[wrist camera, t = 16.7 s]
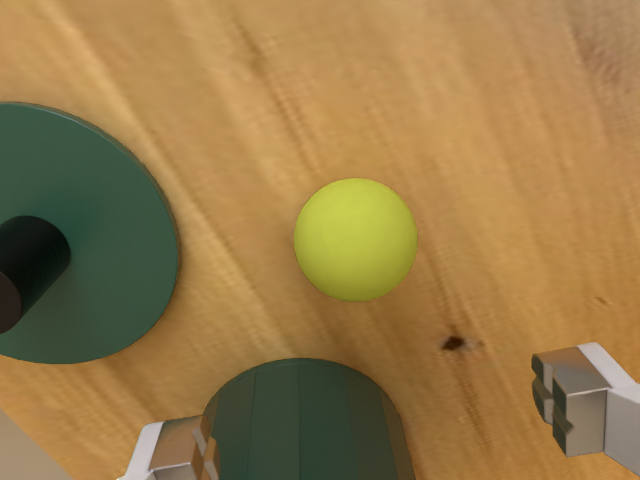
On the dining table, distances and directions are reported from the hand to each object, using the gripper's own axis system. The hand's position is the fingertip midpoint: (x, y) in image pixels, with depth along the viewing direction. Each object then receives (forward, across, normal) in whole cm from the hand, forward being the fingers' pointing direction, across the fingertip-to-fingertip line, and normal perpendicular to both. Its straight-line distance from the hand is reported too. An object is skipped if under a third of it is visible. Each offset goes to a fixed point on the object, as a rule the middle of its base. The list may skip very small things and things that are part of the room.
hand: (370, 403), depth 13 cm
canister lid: (+12, +13, -2) cm, 18 cm away
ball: (+10, -1, 0) cm, 10 cm away
